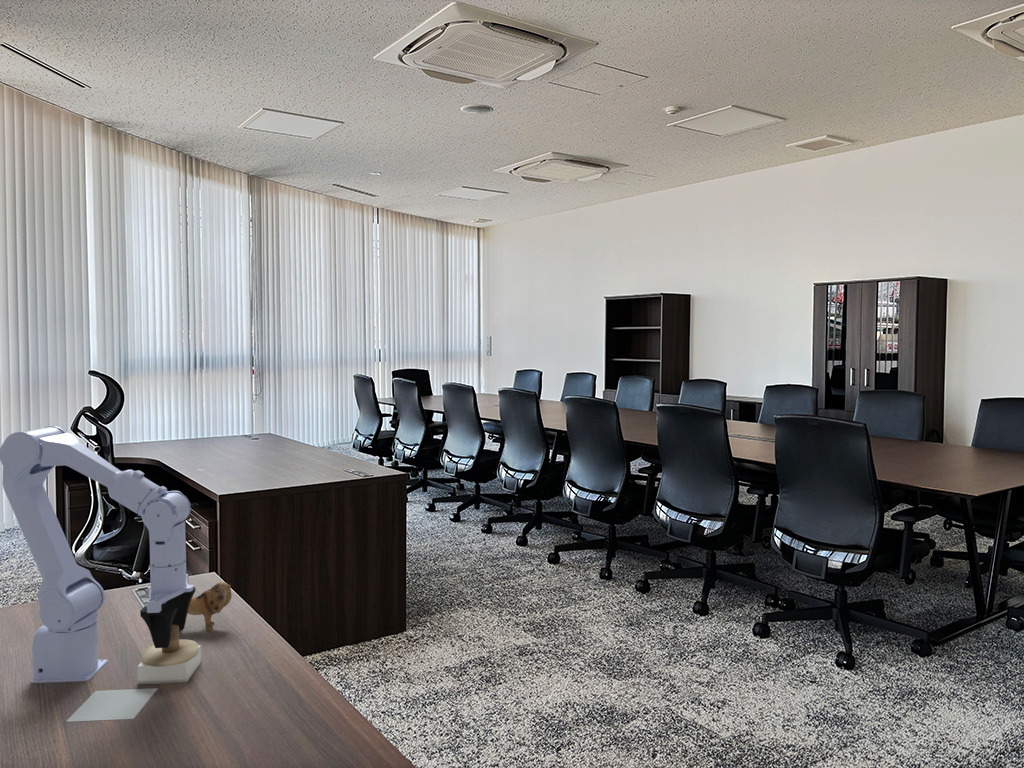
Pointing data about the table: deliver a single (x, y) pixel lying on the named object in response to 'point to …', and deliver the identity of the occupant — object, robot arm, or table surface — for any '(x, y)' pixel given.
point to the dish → (168, 671)
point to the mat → (112, 705)
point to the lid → (171, 651)
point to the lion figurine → (210, 602)
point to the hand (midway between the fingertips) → (169, 638)
